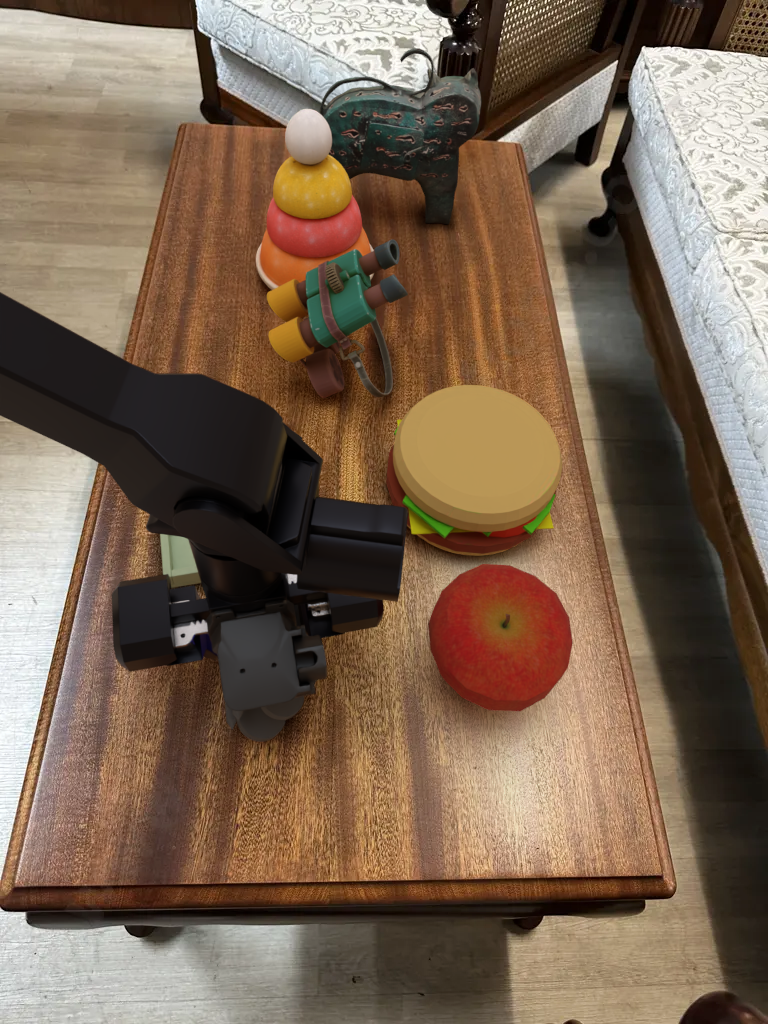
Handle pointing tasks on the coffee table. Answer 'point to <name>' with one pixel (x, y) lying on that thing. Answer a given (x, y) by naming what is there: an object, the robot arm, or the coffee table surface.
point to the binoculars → (335, 316)
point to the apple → (500, 637)
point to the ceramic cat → (406, 132)
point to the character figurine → (265, 714)
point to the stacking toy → (309, 207)
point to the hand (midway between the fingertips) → (258, 647)
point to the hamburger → (474, 470)
